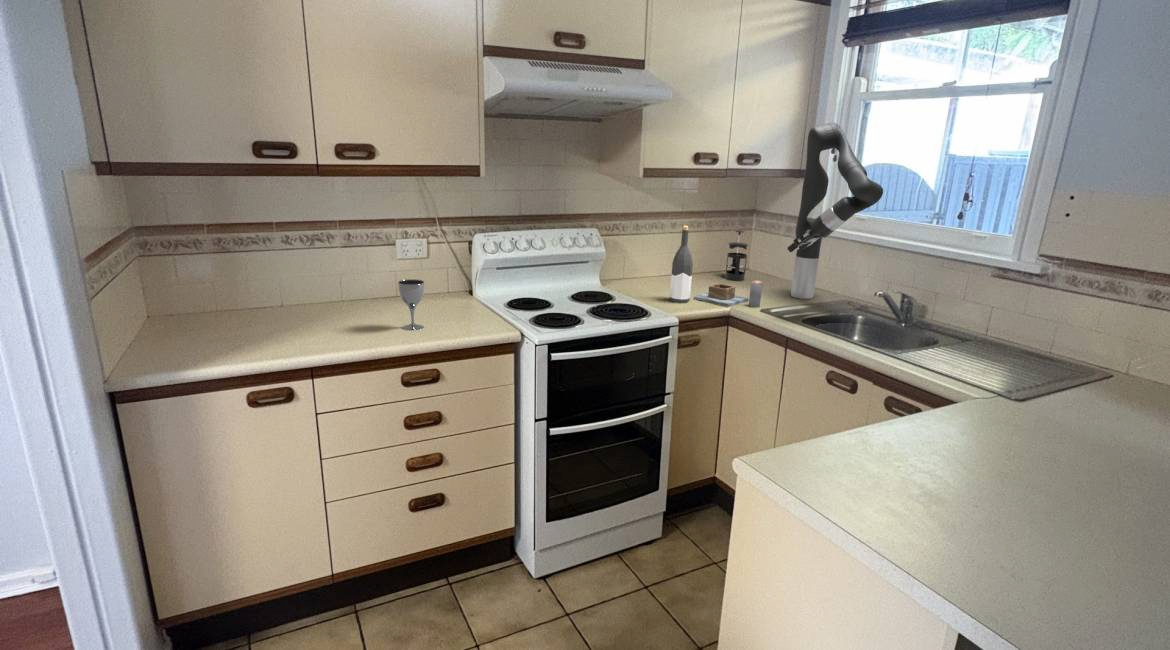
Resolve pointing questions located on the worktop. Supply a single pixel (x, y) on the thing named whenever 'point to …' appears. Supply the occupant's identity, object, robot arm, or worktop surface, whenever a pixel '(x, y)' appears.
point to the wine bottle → (681, 271)
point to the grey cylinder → (755, 293)
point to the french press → (736, 262)
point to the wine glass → (411, 298)
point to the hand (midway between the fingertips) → (794, 249)
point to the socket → (721, 295)
